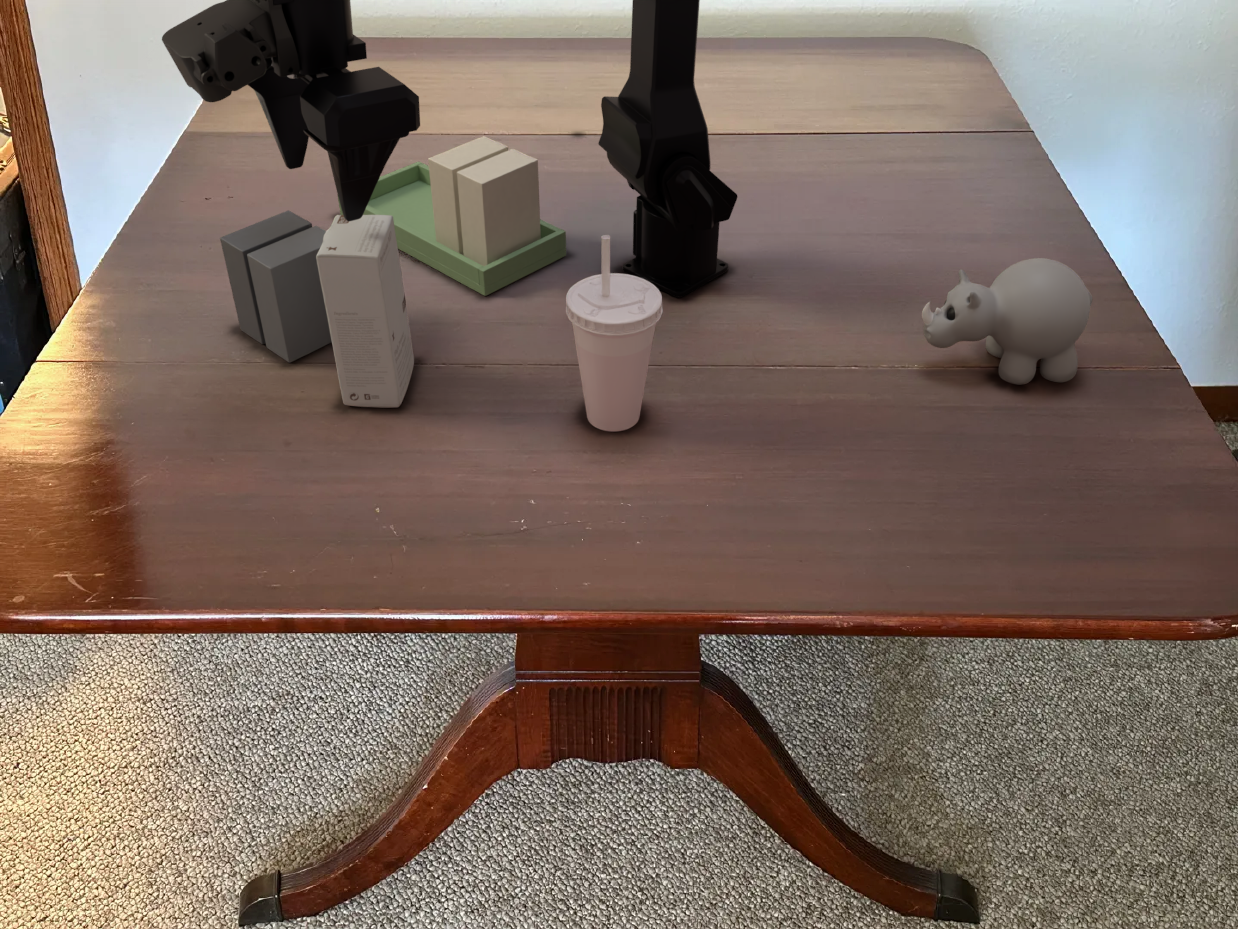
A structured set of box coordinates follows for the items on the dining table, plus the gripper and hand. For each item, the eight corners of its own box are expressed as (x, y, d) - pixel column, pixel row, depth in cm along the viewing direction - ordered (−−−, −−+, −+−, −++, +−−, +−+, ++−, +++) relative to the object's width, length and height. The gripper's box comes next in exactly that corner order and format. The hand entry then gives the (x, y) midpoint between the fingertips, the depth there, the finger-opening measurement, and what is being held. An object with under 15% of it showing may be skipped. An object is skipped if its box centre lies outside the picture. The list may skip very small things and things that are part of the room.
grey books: (354, 331, 93) (340, 238, 88) (289, 363, 90) (270, 268, 85) (305, 300, 97) (288, 209, 91) (240, 330, 93) (219, 237, 88)
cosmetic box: (402, 409, 85) (382, 257, 78) (339, 407, 85) (313, 256, 78) (416, 359, 90) (399, 212, 82) (356, 358, 90) (333, 211, 83)
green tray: (566, 255, 102) (565, 231, 101) (485, 296, 97) (483, 271, 96) (421, 183, 113) (418, 160, 111) (340, 217, 107) (336, 193, 106)
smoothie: (574, 385, 88) (571, 210, 79) (662, 392, 87) (669, 216, 78) (561, 439, 83) (556, 259, 74) (654, 447, 82) (661, 266, 73)
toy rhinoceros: (900, 339, 93) (918, 241, 87) (1054, 337, 93) (1082, 239, 88) (921, 395, 87) (942, 293, 82) (1086, 392, 88) (1117, 290, 82)
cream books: (541, 248, 102) (538, 159, 97) (488, 274, 98) (481, 183, 93) (489, 222, 105) (483, 135, 100) (436, 246, 102) (427, 158, 97)
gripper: (112, -72, 75) (157, 166, 84) (228, 17, 63) (265, 280, 73) (282, -90, 80) (306, 135, 90) (418, -11, 69) (429, 237, 78)
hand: (322, 192), depth 83 cm, fingers open, 9 cm apart
